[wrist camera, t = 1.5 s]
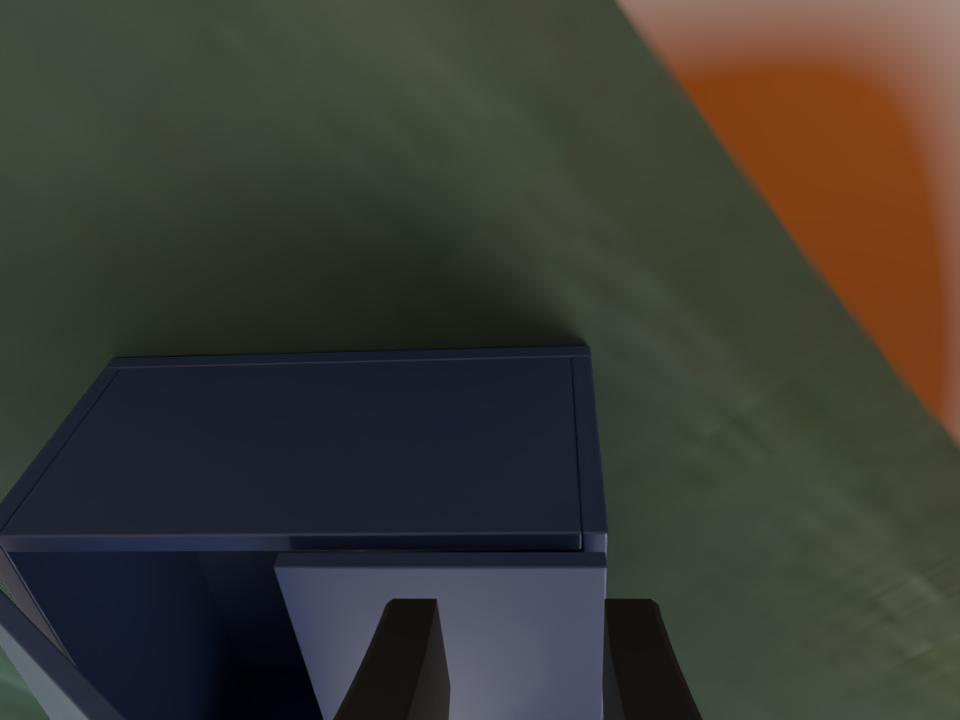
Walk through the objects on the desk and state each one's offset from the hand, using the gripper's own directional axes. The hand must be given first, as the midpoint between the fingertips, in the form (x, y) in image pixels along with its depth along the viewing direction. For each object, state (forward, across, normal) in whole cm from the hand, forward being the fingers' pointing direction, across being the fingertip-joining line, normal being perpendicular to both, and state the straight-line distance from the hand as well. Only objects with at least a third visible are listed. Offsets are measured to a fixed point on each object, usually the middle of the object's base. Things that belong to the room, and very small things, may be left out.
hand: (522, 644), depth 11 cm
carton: (+10, +5, +9) cm, 15 cm away
